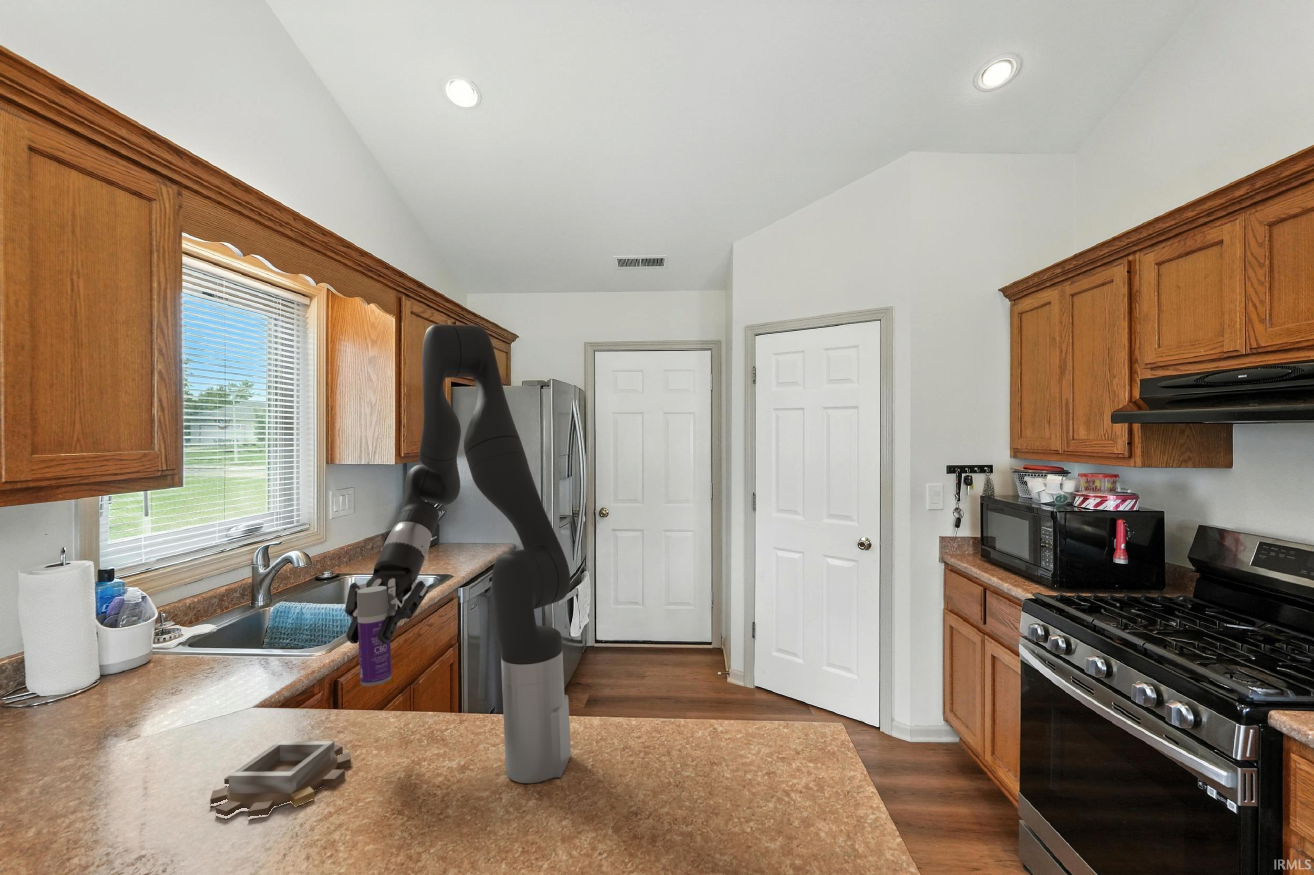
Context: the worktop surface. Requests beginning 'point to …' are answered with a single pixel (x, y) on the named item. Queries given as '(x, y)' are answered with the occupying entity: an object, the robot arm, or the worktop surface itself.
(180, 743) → the worktop surface
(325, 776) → the sprocket
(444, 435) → the robot arm
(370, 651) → the container
